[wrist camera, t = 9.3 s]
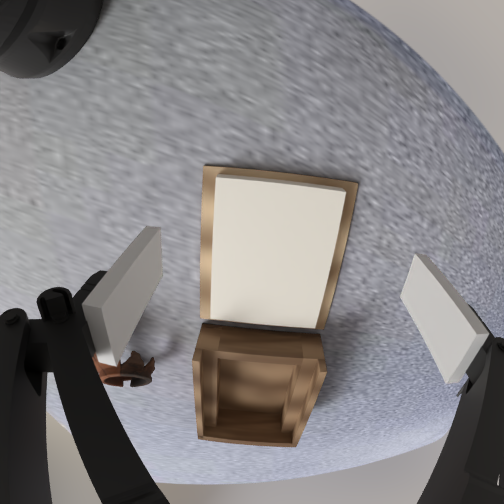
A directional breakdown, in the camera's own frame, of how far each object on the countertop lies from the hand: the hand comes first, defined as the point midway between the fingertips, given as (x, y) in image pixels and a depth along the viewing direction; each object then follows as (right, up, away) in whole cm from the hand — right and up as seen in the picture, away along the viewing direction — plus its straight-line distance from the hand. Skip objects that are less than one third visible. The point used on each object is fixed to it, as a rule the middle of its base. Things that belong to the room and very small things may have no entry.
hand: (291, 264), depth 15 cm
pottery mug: (-20, -12, +25) cm, 34 cm away
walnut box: (-2, -17, +26) cm, 31 cm away
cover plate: (0, 0, +17) cm, 17 cm away
